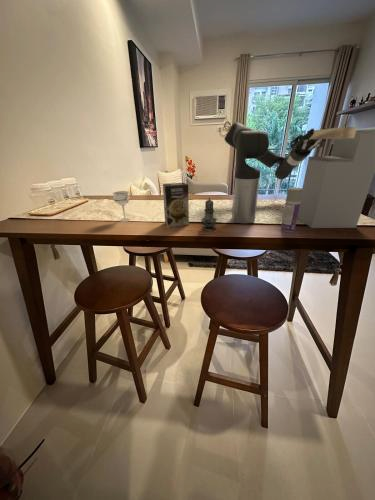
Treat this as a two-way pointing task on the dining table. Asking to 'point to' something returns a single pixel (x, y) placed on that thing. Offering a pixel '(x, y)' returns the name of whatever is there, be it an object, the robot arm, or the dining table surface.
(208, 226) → the grey tall carved piece
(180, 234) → the dining table surface
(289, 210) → the container
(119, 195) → the wineglass
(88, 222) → the dining table surface
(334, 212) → the stepped stand
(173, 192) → the coffee box
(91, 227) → the dining table surface
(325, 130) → the wooden bar
